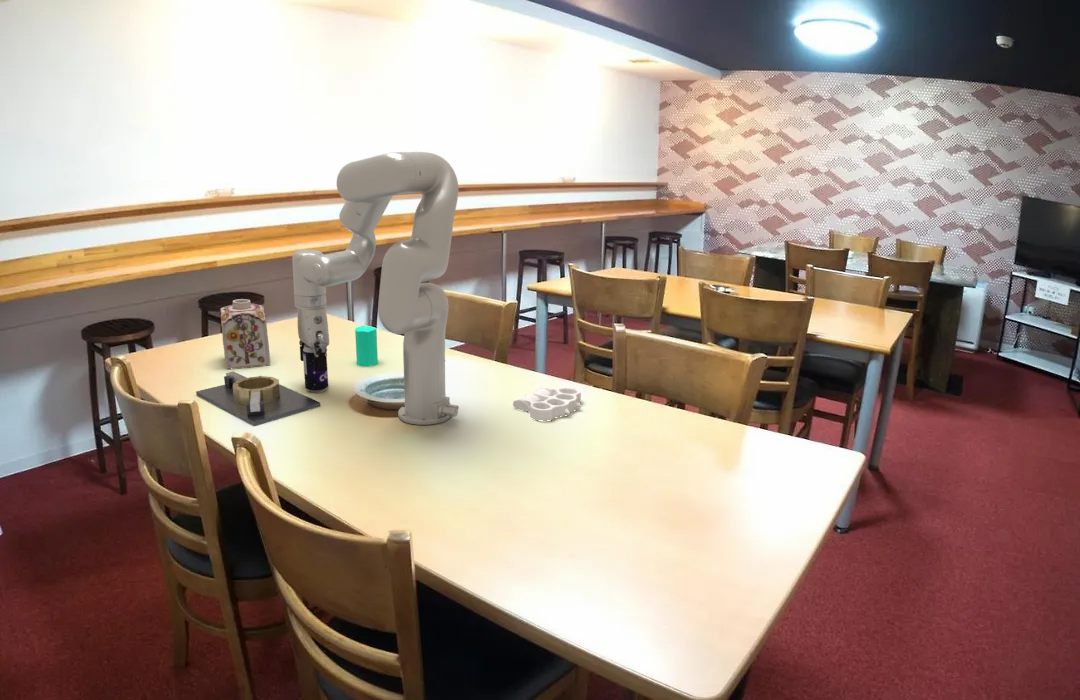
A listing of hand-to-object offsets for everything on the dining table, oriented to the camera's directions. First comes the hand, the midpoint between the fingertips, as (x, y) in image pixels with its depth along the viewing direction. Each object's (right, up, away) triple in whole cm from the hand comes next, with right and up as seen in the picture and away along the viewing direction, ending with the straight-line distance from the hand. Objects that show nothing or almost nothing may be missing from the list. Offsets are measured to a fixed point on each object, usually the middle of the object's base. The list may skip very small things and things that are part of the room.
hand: (313, 365), depth 179 cm
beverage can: (0, -6, +2) cm, 7 cm away
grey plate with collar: (-12, -8, -7) cm, 16 cm away
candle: (+8, 0, +24) cm, 25 cm away
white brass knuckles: (+60, -11, -6) cm, 62 cm away
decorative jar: (-26, 0, +22) cm, 34 cm away
